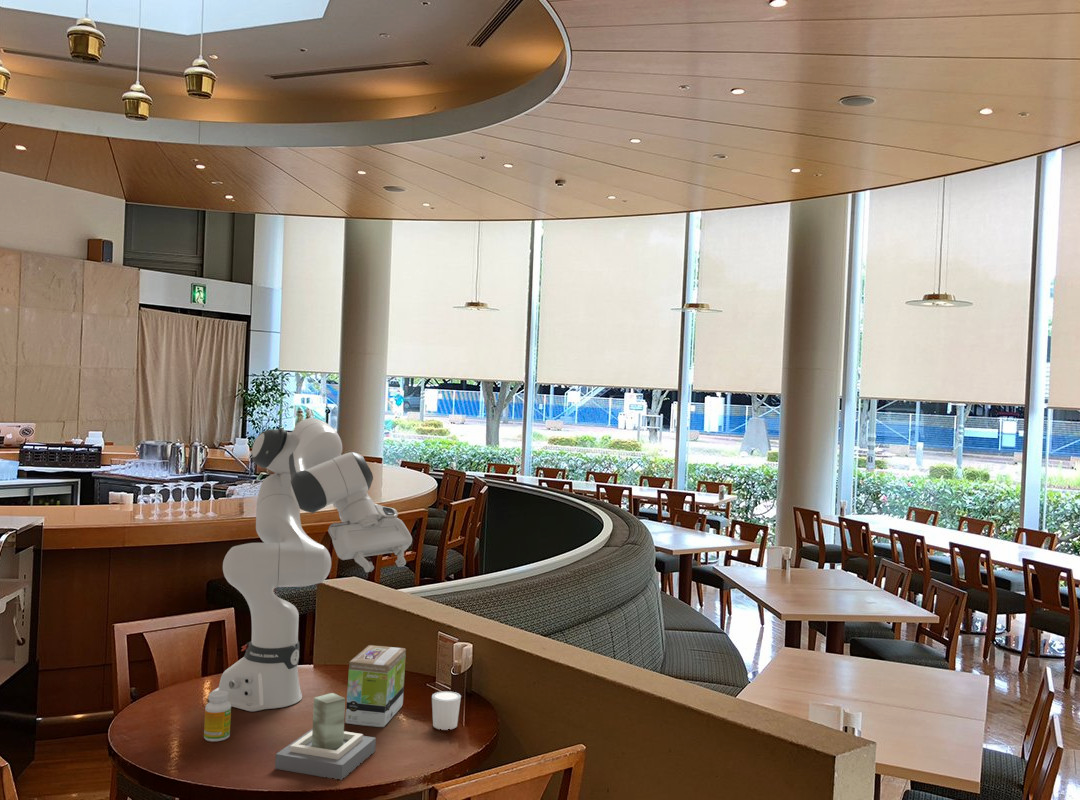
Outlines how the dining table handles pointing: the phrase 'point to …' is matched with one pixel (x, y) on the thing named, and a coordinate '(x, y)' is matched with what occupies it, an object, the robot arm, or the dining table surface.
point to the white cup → (445, 709)
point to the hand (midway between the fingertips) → (386, 567)
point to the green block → (328, 721)
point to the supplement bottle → (217, 717)
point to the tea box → (375, 685)
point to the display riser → (325, 756)
